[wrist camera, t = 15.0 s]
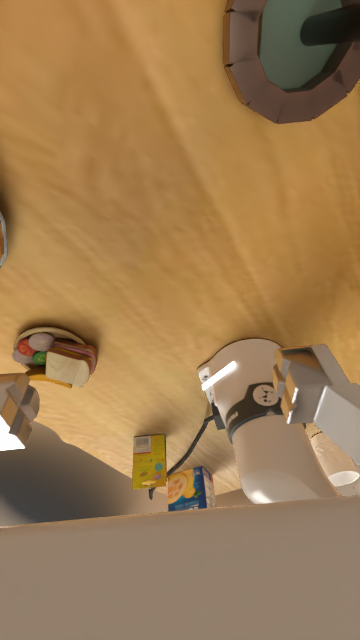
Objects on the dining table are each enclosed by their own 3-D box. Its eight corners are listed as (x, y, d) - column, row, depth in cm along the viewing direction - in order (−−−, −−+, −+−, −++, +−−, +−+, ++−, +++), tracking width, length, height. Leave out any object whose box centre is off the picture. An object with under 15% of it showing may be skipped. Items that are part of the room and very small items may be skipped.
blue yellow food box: (212, 474, 88) (225, 572, 72) (178, 484, 91) (182, 580, 74) (202, 465, 84) (213, 566, 68) (167, 475, 87) (169, 575, 70)
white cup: (320, 427, 75) (339, 469, 67) (346, 432, 77) (367, 473, 69) (301, 443, 79) (317, 484, 72) (326, 447, 81) (343, 487, 74)
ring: (347, 111, 32) (362, 115, 29) (222, 124, 32) (227, 129, 29) (392, -92, 23) (418, -108, 21) (224, -73, 23) (231, -87, 21)
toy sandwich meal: (21, 313, 48) (10, 334, 44) (106, 337, 52) (102, 358, 48) (11, 364, 55) (1, 385, 51) (87, 381, 59) (82, 402, 55)
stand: (341, 87, 31) (441, 102, 20) (253, 97, 32) (304, 117, 21) (368, -48, 26) (527, -129, 15) (260, -35, 26) (337, -106, 15)
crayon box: (135, 442, 75) (132, 494, 66) (133, 436, 73) (130, 489, 64) (166, 440, 74) (167, 491, 66) (164, 433, 73) (165, 485, 64)
